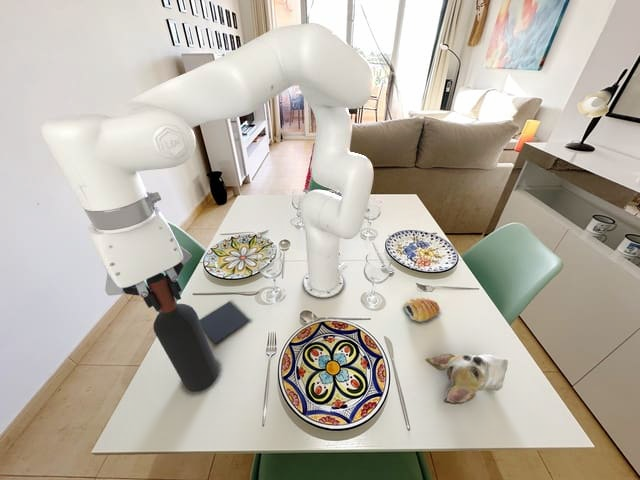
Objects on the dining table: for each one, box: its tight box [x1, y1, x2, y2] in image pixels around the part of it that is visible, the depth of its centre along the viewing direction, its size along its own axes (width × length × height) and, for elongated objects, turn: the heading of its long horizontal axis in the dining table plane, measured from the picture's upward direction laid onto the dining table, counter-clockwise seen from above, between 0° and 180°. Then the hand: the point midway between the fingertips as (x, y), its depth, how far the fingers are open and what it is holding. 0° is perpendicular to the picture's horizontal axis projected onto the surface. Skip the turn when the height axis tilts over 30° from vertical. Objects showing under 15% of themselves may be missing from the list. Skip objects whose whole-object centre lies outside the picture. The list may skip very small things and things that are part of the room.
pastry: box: [403, 297, 440, 323], centre depth 75 cm, size 9×7×4 cm
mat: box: [199, 301, 250, 345], centre depth 74 cm, size 10×10×1 cm
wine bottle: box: [145, 272, 219, 393], centre depth 54 cm, size 8×8×30 cm
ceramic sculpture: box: [424, 353, 509, 405], centre depth 57 cm, size 11×9×15 cm
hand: (166, 300), depth 48 cm, fingers closed on wine bottle, 3 cm apart
